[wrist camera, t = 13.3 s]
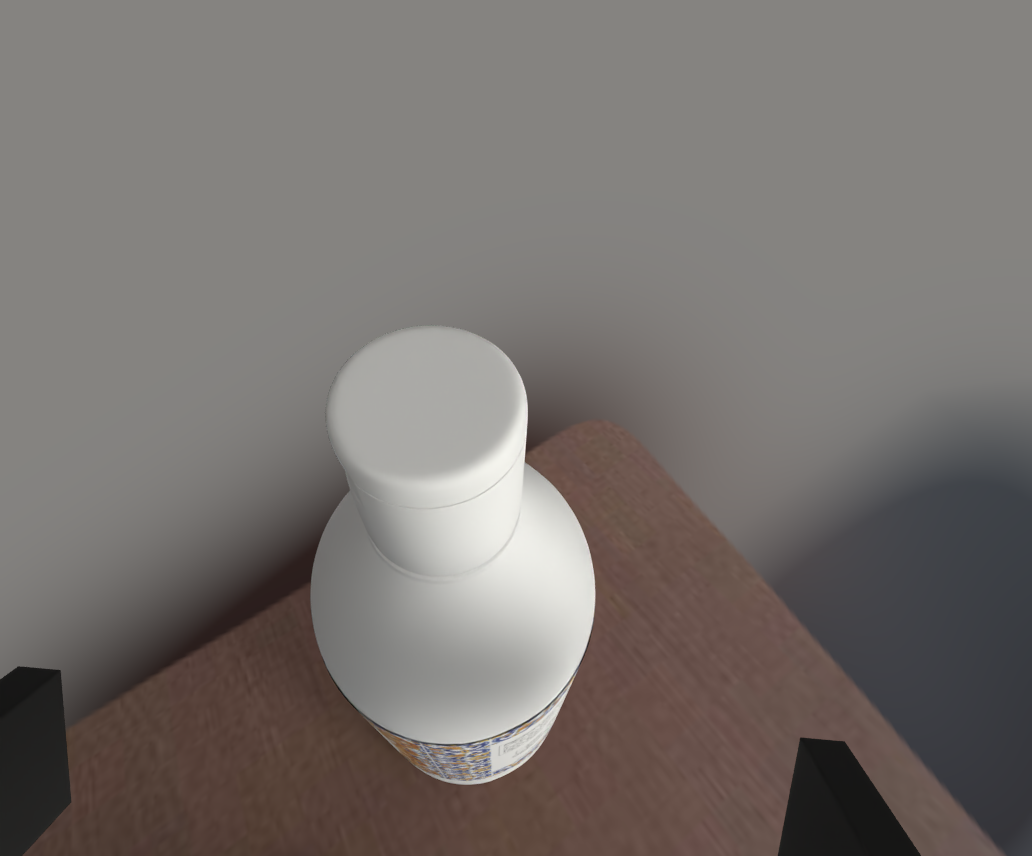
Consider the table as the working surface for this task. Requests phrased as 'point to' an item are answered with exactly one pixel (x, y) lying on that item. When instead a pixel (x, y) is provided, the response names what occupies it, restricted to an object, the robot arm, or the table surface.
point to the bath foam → (447, 558)
